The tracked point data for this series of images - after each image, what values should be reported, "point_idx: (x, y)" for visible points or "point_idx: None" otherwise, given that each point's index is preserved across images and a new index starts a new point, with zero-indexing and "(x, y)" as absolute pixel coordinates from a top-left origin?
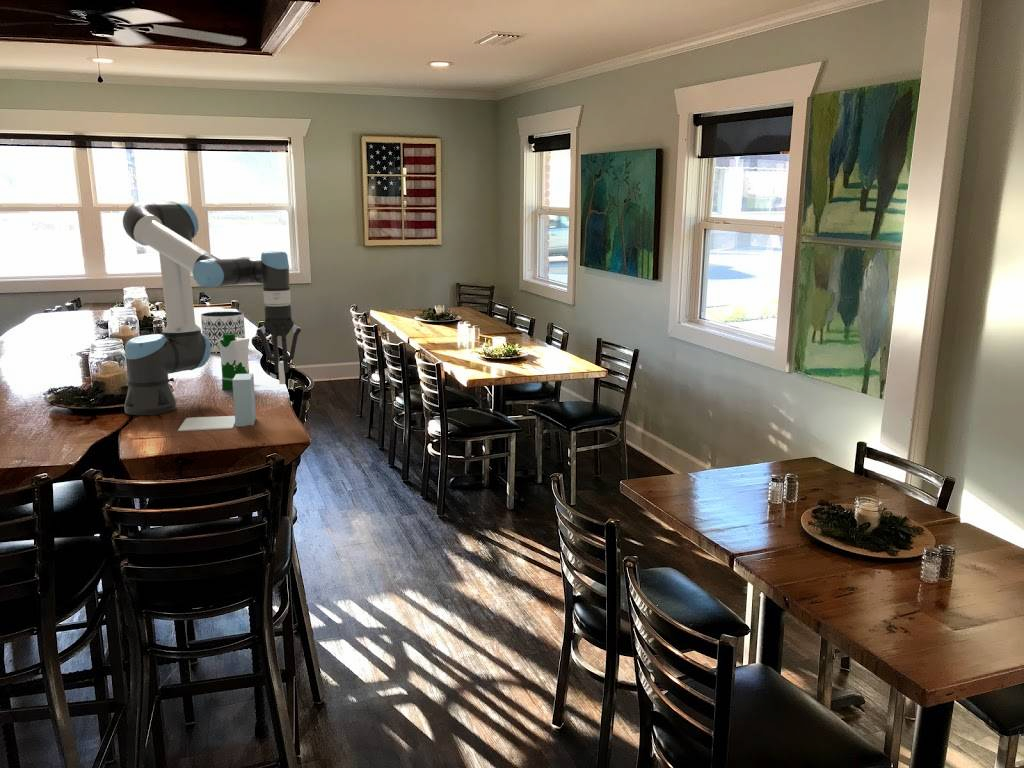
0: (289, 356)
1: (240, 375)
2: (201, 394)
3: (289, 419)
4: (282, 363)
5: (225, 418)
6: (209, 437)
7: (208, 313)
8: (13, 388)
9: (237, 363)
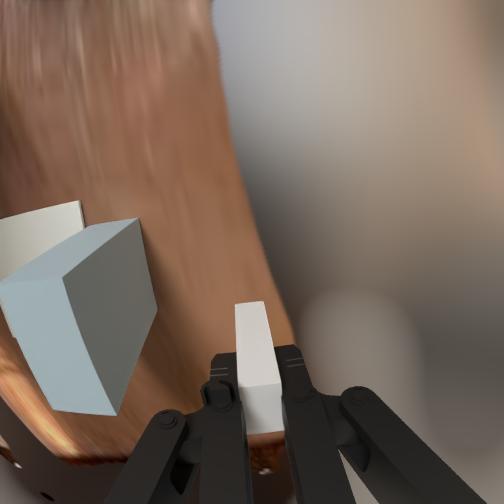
0: (341, 451)
1: (28, 325)
2: None
3: (257, 241)
4: (276, 427)
5: (56, 237)
6: None
7: None
8: None
9: None
